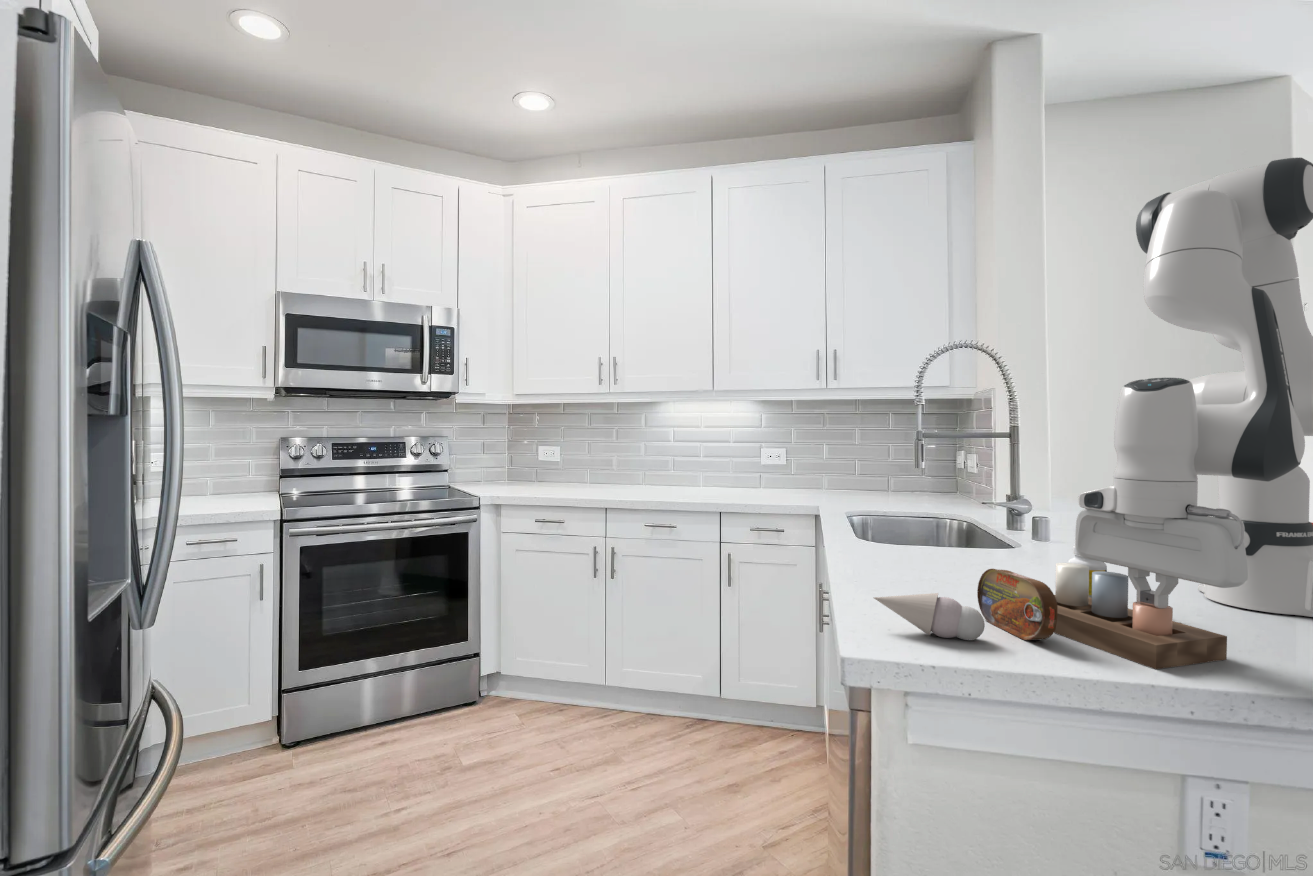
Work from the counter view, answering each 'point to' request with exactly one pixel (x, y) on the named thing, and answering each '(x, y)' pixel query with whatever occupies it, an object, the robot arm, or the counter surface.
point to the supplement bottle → (1090, 563)
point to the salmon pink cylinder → (1152, 619)
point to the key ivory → (1072, 584)
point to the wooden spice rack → (1140, 638)
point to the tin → (1017, 604)
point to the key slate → (1110, 594)
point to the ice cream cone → (937, 615)
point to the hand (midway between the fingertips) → (1152, 605)
